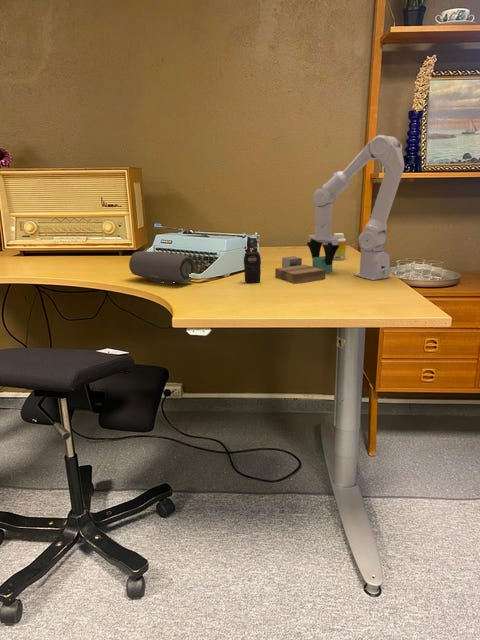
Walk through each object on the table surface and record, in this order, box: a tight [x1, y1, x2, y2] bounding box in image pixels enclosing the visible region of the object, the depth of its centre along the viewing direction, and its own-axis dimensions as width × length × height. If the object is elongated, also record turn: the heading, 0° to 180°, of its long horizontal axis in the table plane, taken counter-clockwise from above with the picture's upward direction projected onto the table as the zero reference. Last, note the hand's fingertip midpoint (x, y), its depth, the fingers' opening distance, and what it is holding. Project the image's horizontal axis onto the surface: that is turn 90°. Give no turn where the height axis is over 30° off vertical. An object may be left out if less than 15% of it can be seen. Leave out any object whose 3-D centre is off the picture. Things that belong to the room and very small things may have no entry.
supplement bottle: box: [333, 232, 347, 261], centre depth 189 cm, size 6×6×10 cm
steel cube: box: [281, 255, 303, 268], centre depth 169 cm, size 5×5×5 cm
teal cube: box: [311, 255, 333, 274], centre depth 168 cm, size 5×5×5 cm
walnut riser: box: [274, 264, 326, 284], centre depth 158 cm, size 12×12×3 cm
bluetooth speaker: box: [128, 250, 197, 284], centre depth 157 cm, size 23×9×10 cm, turn 56°
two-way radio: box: [243, 235, 262, 284], centre depth 153 cm, size 6×4×15 cm
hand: (322, 263), depth 168 cm, fingers open, 7 cm apart
